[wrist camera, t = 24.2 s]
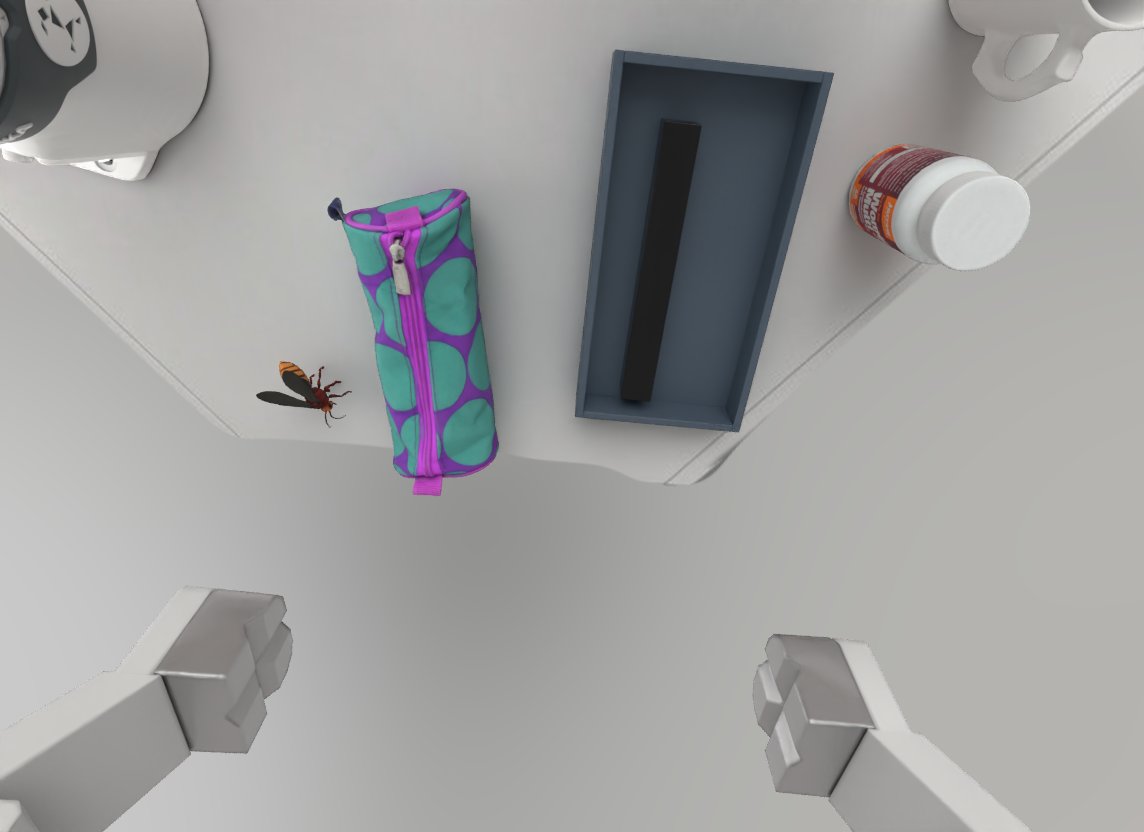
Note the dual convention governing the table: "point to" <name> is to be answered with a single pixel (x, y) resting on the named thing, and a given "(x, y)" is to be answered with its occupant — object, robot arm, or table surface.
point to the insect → (301, 390)
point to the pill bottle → (939, 206)
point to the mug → (1039, 6)
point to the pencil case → (427, 333)
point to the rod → (658, 254)
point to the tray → (697, 230)
